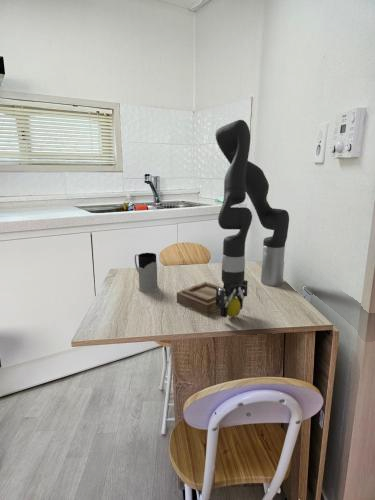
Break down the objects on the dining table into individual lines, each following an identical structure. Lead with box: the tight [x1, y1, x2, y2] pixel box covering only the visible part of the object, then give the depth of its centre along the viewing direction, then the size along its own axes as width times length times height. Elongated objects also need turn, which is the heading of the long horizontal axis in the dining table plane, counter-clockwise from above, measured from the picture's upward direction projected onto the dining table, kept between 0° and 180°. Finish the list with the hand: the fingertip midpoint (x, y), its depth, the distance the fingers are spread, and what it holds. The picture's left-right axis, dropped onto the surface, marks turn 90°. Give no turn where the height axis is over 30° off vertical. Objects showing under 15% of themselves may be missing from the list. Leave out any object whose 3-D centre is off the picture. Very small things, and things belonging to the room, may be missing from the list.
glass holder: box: [134, 252, 159, 293], centre depth 134 cm, size 9×14×15 cm, turn 41°
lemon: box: [227, 297, 242, 319], centre depth 106 cm, size 6×6×8 cm
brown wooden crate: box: [176, 281, 237, 316], centre depth 119 cm, size 16×16×5 cm
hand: (231, 312), depth 107 cm, fingers open, 8 cm apart
